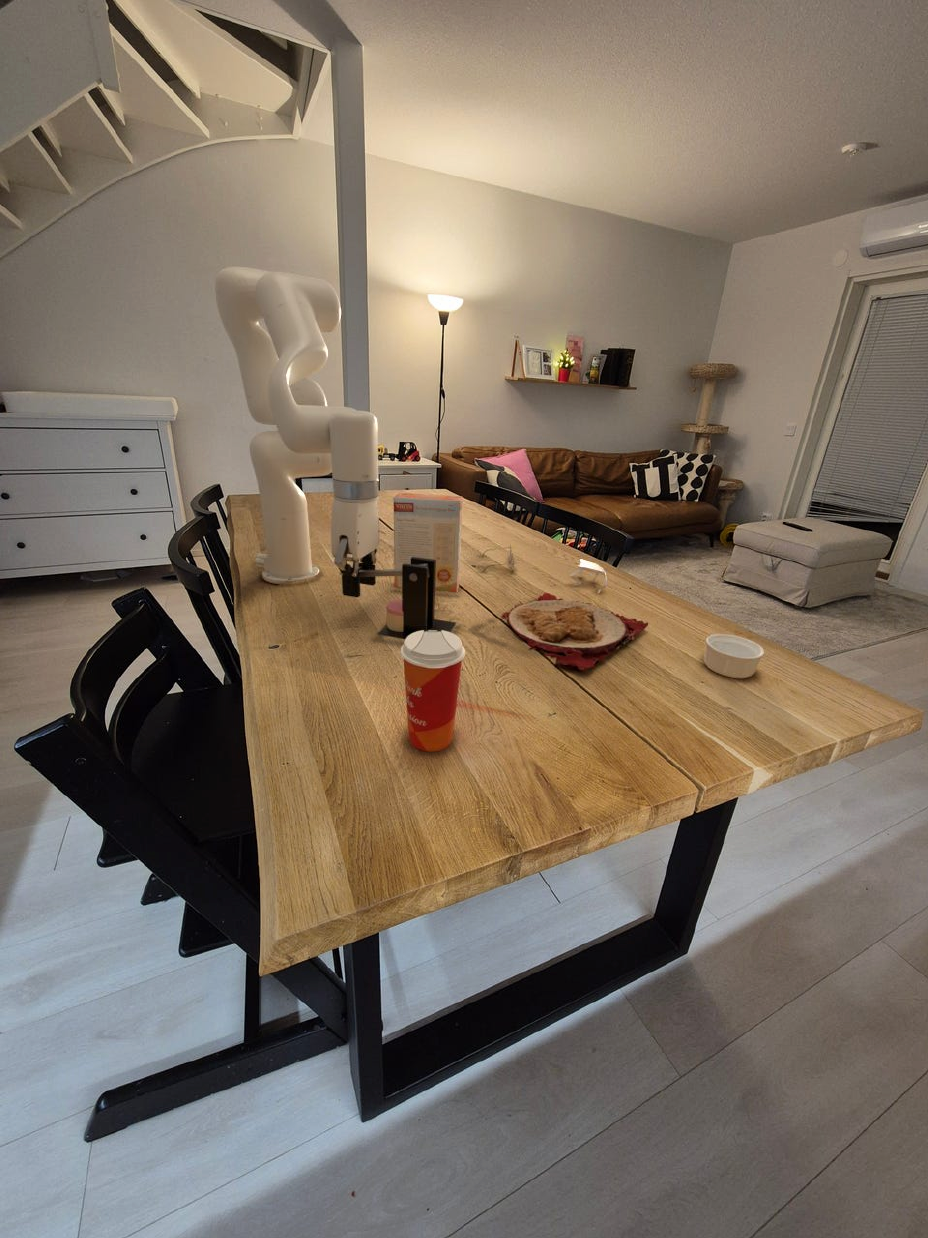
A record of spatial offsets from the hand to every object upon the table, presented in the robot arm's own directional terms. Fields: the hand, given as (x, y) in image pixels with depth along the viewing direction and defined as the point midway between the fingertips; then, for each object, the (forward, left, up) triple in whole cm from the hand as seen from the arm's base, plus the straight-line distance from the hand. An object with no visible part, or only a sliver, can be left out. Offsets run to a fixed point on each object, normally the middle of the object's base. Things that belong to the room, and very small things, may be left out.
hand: (359, 588), depth 92 cm
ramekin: (+66, +7, -7) cm, 66 cm away
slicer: (+12, 0, -7) cm, 14 cm away
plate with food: (+37, +11, -7) cm, 39 cm away
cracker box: (+6, +22, -7) cm, 24 cm away
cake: (+8, 0, -6) cm, 10 cm away
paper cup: (+24, -28, -7) cm, 37 cm away
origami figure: (+41, +39, -7) cm, 57 cm away
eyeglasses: (+17, +46, -7) cm, 49 cm away
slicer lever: (+6, 0, +3) cm, 7 cm away
